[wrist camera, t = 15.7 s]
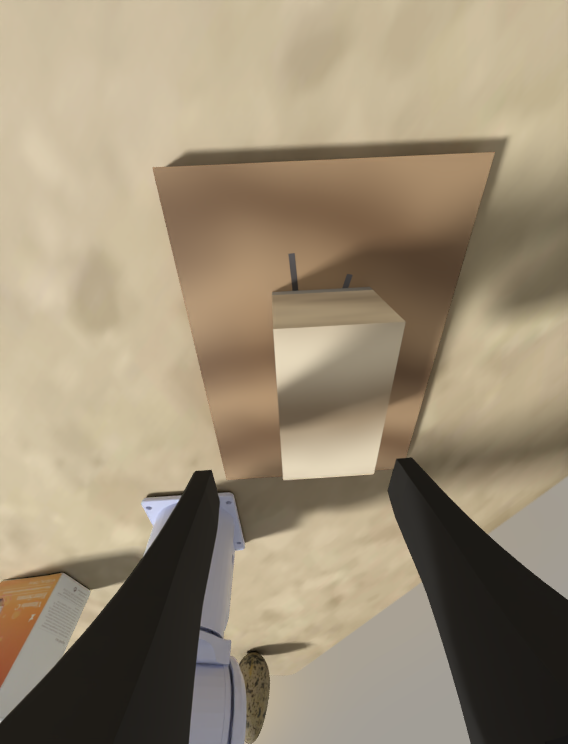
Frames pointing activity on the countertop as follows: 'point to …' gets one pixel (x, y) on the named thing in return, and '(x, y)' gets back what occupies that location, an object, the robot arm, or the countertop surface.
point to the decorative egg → (255, 693)
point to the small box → (34, 631)
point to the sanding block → (333, 378)
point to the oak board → (314, 273)
